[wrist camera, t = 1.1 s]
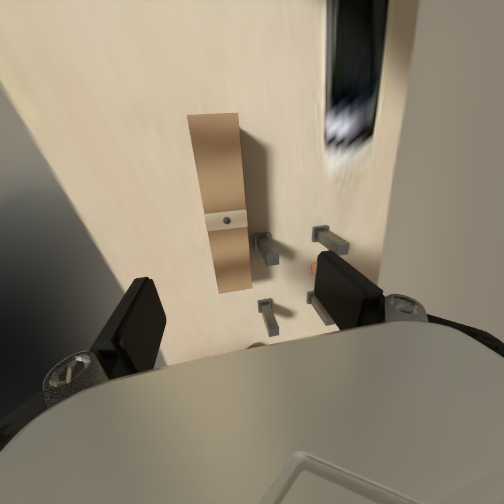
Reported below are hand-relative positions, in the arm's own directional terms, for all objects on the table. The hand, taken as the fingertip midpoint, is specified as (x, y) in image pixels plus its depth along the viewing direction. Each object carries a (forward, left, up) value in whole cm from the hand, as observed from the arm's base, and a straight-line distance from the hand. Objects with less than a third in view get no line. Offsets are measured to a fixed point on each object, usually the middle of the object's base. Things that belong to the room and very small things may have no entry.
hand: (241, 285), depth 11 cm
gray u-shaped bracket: (+5, +10, -18) cm, 21 cm away
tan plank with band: (0, 0, -19) cm, 19 cm away
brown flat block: (+12, +15, -18) cm, 26 cm away
